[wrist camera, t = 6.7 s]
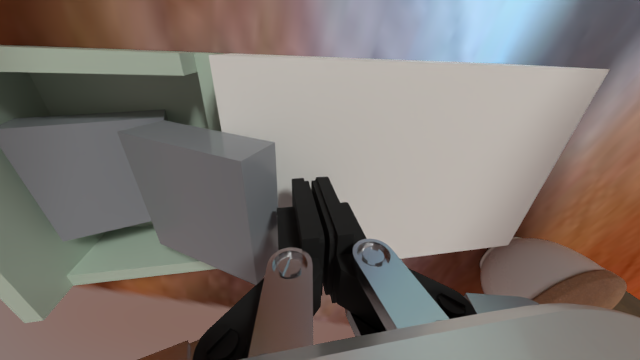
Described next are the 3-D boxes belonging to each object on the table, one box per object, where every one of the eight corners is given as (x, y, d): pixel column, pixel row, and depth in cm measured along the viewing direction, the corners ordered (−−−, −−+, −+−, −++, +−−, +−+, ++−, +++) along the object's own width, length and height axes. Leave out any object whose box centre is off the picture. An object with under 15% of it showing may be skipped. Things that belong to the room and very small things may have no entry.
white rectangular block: (506, 63, 17) (609, 69, 12) (454, 200, 23) (508, 245, 17) (232, 53, 14) (208, 54, 8) (253, 217, 19) (247, 278, 14)
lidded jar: (450, 289, 30) (515, 375, 22) (481, 225, 25) (580, 307, 17) (518, 278, 32) (600, 354, 24) (559, 217, 27) (682, 287, 19)
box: (223, 52, 13) (184, 54, 7) (247, 217, 19) (236, 294, 13) (14, 45, 12) (-261, 38, 6) (109, 229, 17) (24, 322, 11)
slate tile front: (275, 142, 9) (240, 161, 7) (280, 254, 12) (256, 285, 10) (163, 120, 11) (116, 131, 9) (192, 221, 14) (160, 243, 12)
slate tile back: (-12, 129, 9) (14, 118, 11) (62, 241, 12) (75, 220, 14) (163, 117, 12) (165, 109, 13) (190, 212, 15) (189, 196, 16)
